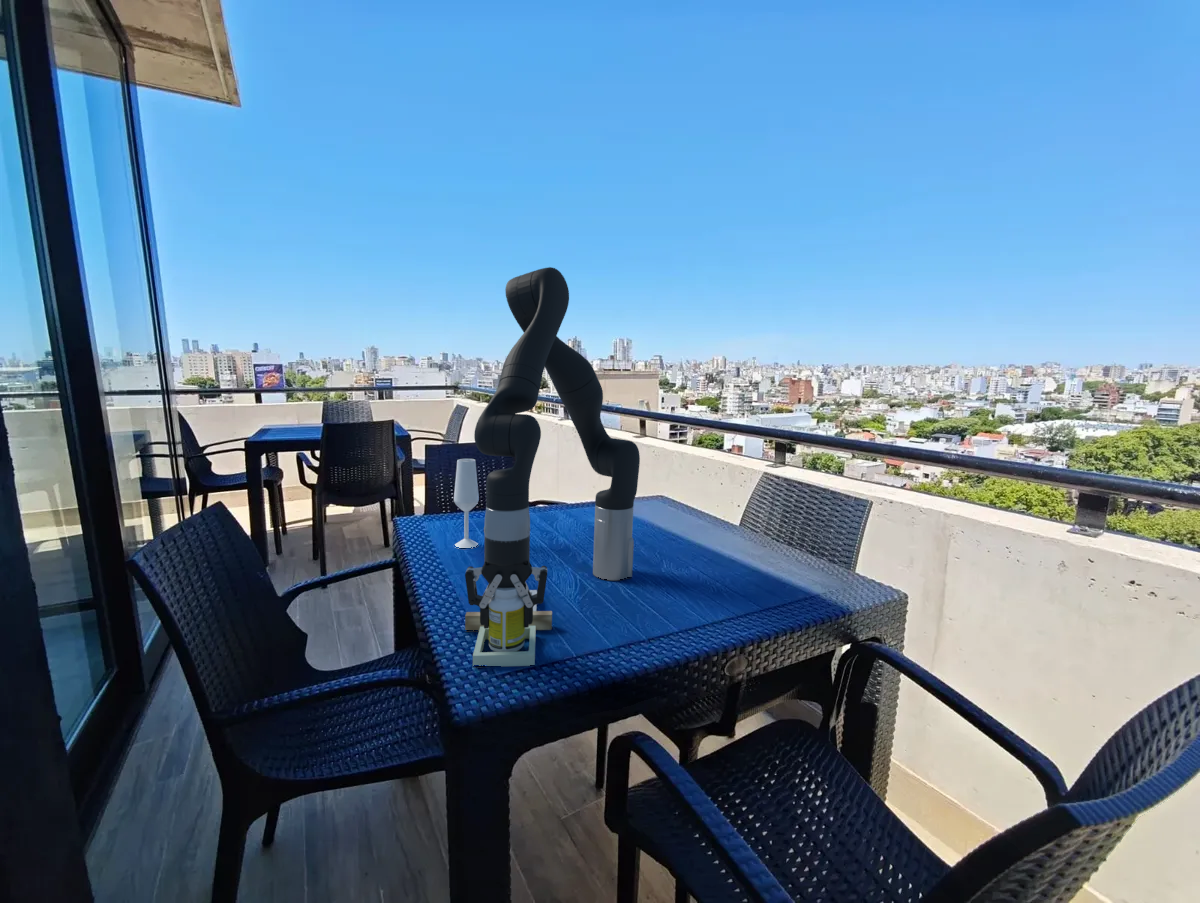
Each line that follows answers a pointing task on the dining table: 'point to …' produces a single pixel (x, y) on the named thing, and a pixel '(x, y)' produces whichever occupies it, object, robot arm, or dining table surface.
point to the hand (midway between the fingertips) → (506, 625)
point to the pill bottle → (506, 620)
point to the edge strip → (539, 620)
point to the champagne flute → (466, 495)
